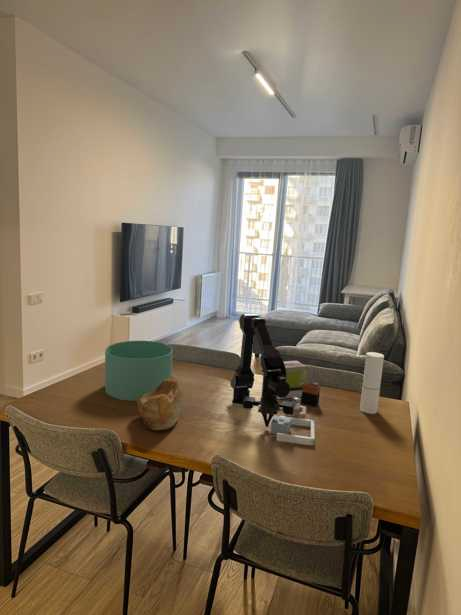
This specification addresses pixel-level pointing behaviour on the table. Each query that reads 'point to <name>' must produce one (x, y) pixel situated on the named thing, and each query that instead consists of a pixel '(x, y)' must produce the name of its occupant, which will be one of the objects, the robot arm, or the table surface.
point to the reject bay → (297, 438)
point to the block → (280, 425)
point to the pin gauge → (296, 404)
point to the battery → (310, 394)
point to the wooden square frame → (298, 413)
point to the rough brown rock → (161, 405)
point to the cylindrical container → (371, 382)
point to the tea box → (294, 378)
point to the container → (136, 368)
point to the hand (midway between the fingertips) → (266, 426)
